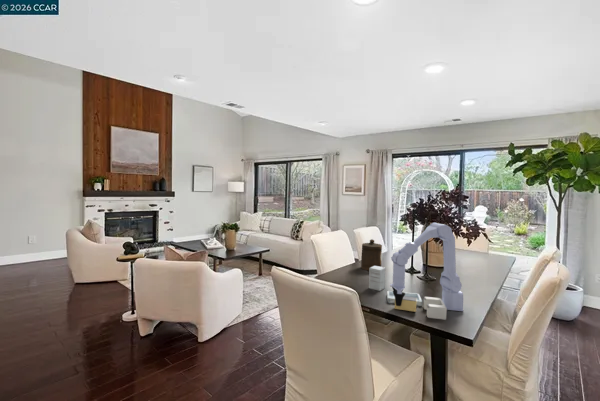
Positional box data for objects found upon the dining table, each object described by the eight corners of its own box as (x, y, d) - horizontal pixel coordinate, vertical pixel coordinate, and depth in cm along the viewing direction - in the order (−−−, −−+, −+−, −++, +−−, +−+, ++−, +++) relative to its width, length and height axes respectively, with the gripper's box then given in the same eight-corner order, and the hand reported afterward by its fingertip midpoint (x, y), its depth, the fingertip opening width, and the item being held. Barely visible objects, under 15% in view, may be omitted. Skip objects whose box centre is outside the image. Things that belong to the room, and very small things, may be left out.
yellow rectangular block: (415, 308, 151) (416, 297, 150) (416, 311, 146) (416, 301, 146) (394, 304, 154) (395, 294, 154) (394, 308, 149) (394, 298, 149)
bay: (440, 308, 152) (440, 298, 152) (446, 319, 140) (446, 308, 140) (423, 307, 154) (423, 296, 154) (427, 317, 142) (428, 306, 141)
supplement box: (373, 285, 188) (374, 265, 187) (385, 288, 183) (385, 267, 182) (368, 288, 182) (369, 267, 181) (380, 291, 177) (380, 269, 177)
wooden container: (385, 269, 224) (386, 240, 223) (370, 272, 217) (371, 241, 216) (371, 265, 237) (372, 237, 236) (356, 267, 230) (357, 238, 229)
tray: (418, 298, 167) (419, 293, 167) (422, 306, 155) (422, 301, 155) (386, 294, 171) (387, 290, 171) (387, 302, 159) (387, 298, 159)
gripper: (389, 272, 158) (389, 297, 159) (391, 280, 144) (390, 308, 145) (403, 273, 157) (403, 298, 157) (406, 281, 143) (405, 309, 143)
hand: (397, 303), depth 151 cm, fingers closed on yellow rectangular block, 5 cm apart
